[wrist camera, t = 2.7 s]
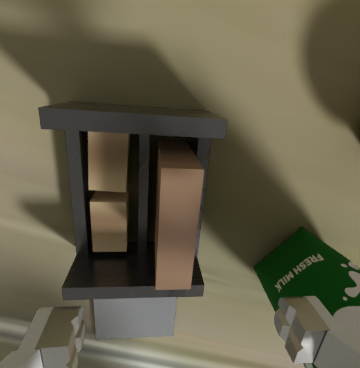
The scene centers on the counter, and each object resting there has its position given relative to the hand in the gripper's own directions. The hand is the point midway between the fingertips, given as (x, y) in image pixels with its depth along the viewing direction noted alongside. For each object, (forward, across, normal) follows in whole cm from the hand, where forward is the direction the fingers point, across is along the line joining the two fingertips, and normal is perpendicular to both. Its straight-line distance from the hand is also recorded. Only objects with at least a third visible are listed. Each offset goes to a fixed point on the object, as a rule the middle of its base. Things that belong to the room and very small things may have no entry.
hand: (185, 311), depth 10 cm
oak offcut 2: (+14, +5, +3) cm, 15 cm away
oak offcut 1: (+14, +5, -3) cm, 15 cm away
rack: (+14, +2, 0) cm, 14 cm away
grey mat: (+14, +3, +14) cm, 20 cm away
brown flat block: (+14, 0, 0) cm, 14 cm away
